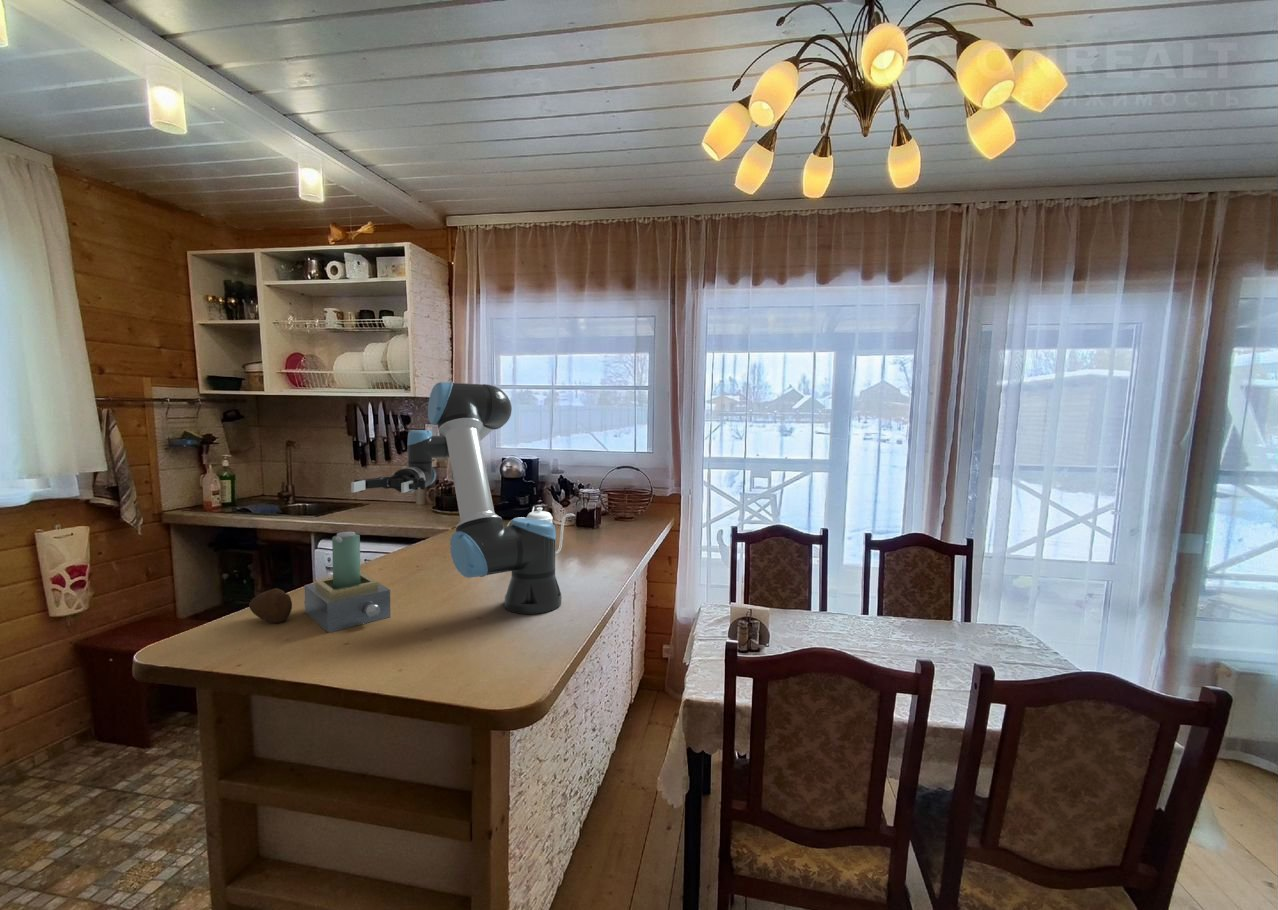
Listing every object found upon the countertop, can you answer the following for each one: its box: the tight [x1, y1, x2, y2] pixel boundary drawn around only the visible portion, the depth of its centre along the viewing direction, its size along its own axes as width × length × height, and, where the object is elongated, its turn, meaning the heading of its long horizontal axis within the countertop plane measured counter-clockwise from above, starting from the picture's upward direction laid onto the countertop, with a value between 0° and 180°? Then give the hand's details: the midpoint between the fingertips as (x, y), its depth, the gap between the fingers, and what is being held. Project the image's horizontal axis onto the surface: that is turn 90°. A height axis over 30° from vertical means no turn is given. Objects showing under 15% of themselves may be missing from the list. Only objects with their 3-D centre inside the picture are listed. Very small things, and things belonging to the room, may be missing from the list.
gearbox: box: [304, 572, 391, 633], centre depth 130 cm, size 21×14×8 cm, turn 47°
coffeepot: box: [506, 507, 576, 555], centre depth 185 cm, size 11×25×19 cm, turn 84°
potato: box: [248, 587, 293, 624], centre depth 126 cm, size 7×10×8 cm
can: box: [331, 531, 361, 589], centre depth 130 cm, size 7×6×14 cm
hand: (377, 487), depth 144 cm, fingers open, 13 cm apart
